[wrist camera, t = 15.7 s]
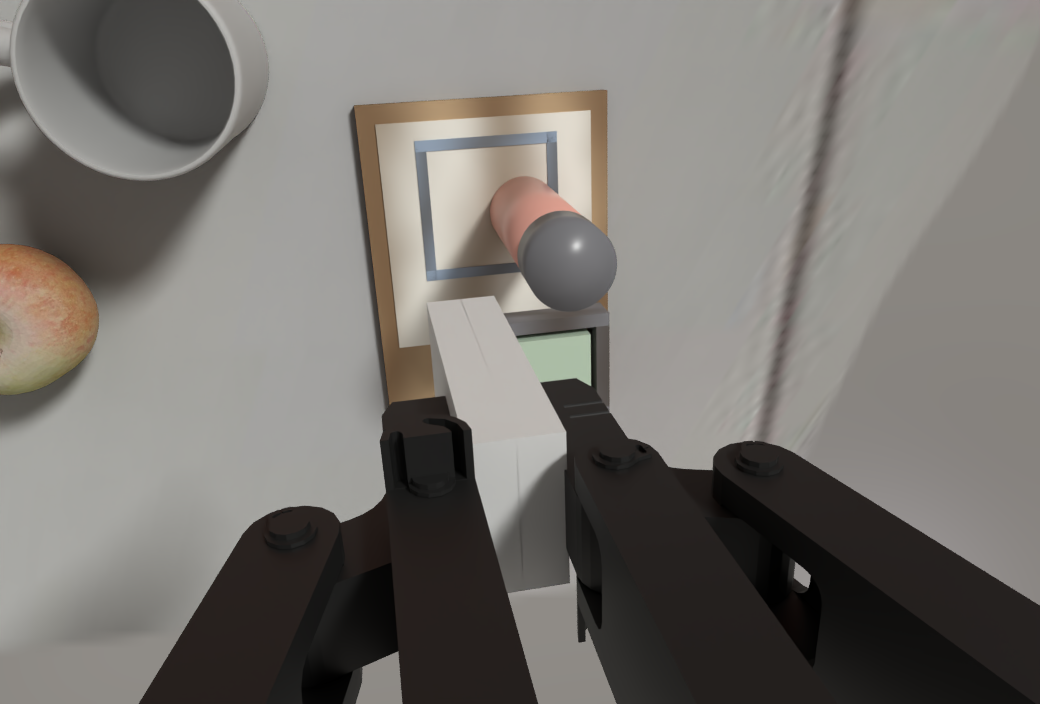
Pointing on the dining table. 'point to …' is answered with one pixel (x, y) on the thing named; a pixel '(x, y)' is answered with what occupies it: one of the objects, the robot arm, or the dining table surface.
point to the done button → (559, 354)
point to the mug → (137, 79)
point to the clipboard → (472, 214)
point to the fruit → (41, 319)
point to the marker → (553, 245)
